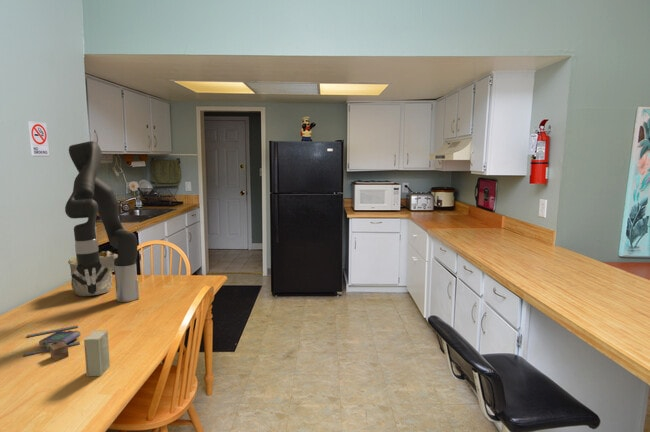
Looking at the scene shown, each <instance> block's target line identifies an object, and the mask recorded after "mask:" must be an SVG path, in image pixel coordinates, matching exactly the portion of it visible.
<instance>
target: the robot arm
mask: <svg viewBox="0 0 650 432" xmlns="http://www.w3.org/2000/svg"><path fill="white" fill-rule="evenodd" d="M102 153H103V152H102V149H101V147H100V145H99V143H97V142H96V141H94V140H91V141H85V142H81V143H76V144H71V145H70V146H69V147H68V154H69V157H70V160H71V161H72V163H73V165H74V167H75V168H76V170H77V172H78V174H77V175H76V177H75V178H74V182H73V188H72V192H71V195H70V196H69V198H68V200H67V201H66V204H65V207H64V210H65V211H64V212H65V215H66V217H68V218H70V219H86V218H87V221H86V222H83V223H79V224H75V226H73V233H74V248H75V258H77V268H76V271H75V272H73V273H71V272H70V276H71V278H72V277H73V278H74V279H76V280H77V281H78V282H79V283H81V284H82V285H87V288H88V292H89V293H90V294H94V293H95V292H96V291H97V290H96V283H97V282H100V281H101V280H102V278H103V277H104V275H105V274H106V273H107V271H108V268H107V267H103V266H102V264H101V263H100V259H99V253H100V251H99V250H100V249H99V244H98V243H99V242H98V240H97V234H96V222H97V216H99V218H100V220H101V222H102V224H103V227H104V230H105V232H106V233H105V234H106V236H107V239H108V241H109V244H110V246H111V247H112V248H114V249H115V250H117V255H118V257H117V258H115V259H114V269H115V270H114V281H115V297H116V301H117V302H118V303H127V302H133V301H136V300H139V299H140V294H139V293H140V292H139V280H138V279H139V278H138V274H137V272H138V271H137V258H138V239H137V236H136V234H135V232H133V231H129V230H125V229H124V227H123V224H122V223H121V221H120V220H121V219H120V217H119V216H120V215H119V204H118V203H119V201H118V200H117V197H116V195H115V192H114V190H113V189H112V187H111V186H109V185H108V184H107V183H106V182H104V181H103V180H101V179H100V178H99V177H97V174H98V172H99V169H100V166H101V163H102V160H103V159H102V158H103V154H102ZM100 269H101V273H100V274H99V276H98V277H97V279H96V274H97V273H98V272H99V270H100ZM78 272H79V273H80V274H81V275H83V276H84V277H85V278H86V281H84V280H83V279H81V278H80V277H79V274H78ZM89 276H91V282H92V284H91V282H90V277H89Z"/></svg>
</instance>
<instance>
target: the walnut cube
mask: <svg viewBox="0 0 650 432" xmlns="http://www.w3.org/2000/svg"><path fill="white" fill-rule="evenodd" d="M49 353H50V358H51V359H52V360H53V361H54V362H57V361H59V360H62V359H65V358H67V357H68V358H69V347H68V345H67V344H66V343H64V342H62V343H58V344H55V345H51V346H50V351H49Z"/></svg>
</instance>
